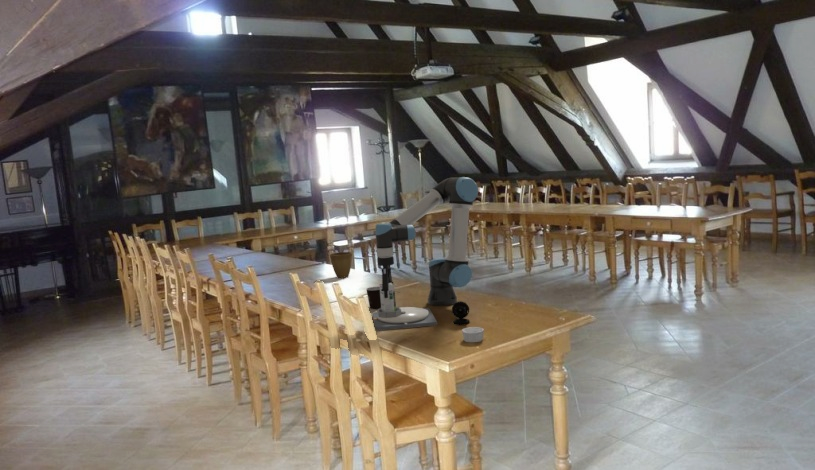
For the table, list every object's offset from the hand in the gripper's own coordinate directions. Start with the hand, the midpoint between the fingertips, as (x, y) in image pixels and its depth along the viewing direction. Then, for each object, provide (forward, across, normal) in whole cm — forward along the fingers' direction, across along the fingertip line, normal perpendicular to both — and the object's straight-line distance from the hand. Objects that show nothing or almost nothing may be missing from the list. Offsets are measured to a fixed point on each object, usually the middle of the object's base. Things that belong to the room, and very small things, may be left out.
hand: (388, 301), depth 296 cm
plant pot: (+10, -118, -44) cm, 126 cm away
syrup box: (+6, +1, 0) cm, 6 cm away
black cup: (+10, -30, -10) cm, 33 cm away
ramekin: (+10, +36, +38) cm, 53 cm away
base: (+9, 0, +6) cm, 11 cm away
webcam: (+10, +10, +34) cm, 36 cm away
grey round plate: (+8, 0, +7) cm, 10 cm away
